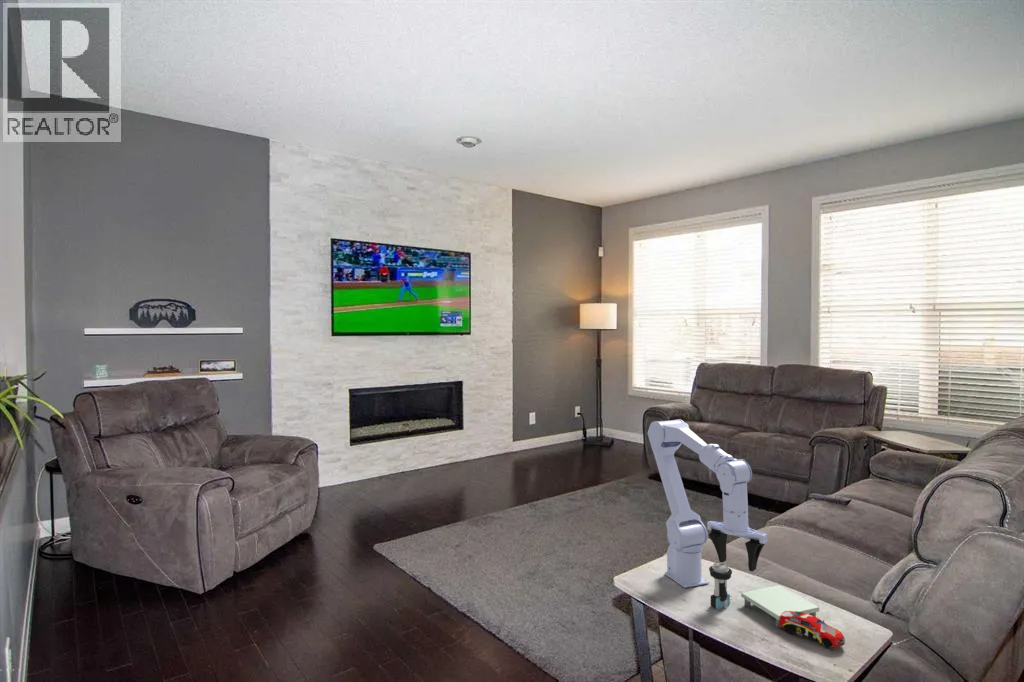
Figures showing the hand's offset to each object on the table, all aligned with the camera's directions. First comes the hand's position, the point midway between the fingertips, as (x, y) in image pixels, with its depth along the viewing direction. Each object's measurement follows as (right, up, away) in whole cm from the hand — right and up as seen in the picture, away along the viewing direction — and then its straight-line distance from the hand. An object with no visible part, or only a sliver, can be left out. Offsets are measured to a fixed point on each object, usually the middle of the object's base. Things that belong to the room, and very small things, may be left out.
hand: (737, 565), depth 133 cm
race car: (+11, -11, -13) cm, 20 cm away
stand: (+10, -11, -2) cm, 14 cm away
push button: (-3, -11, +2) cm, 12 cm away
